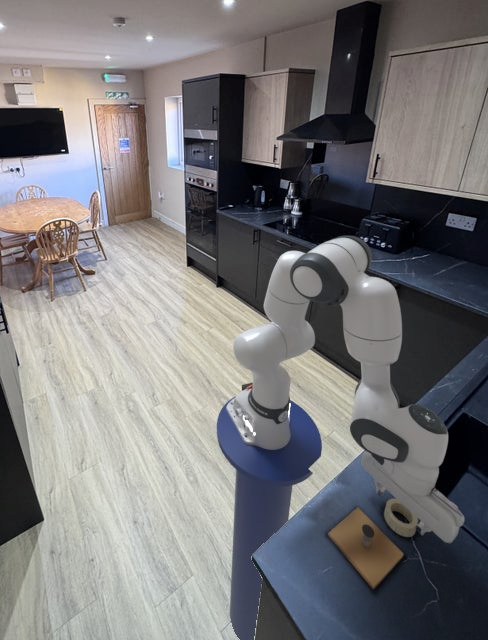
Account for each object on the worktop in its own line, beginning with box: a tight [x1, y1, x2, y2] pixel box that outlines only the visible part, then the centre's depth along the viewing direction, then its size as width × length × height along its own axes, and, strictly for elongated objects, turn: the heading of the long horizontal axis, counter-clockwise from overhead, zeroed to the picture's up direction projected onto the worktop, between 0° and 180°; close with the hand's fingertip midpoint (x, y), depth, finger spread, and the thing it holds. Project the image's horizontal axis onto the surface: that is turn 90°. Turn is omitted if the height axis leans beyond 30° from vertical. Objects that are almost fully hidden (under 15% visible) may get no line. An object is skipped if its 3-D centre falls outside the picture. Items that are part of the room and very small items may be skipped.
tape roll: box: [383, 498, 419, 538], centre depth 77 cm, size 6×6×3 cm
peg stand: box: [327, 506, 404, 590], centre depth 72 cm, size 11×11×5 cm
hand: (399, 511), depth 78 cm, fingers open, 8 cm apart
